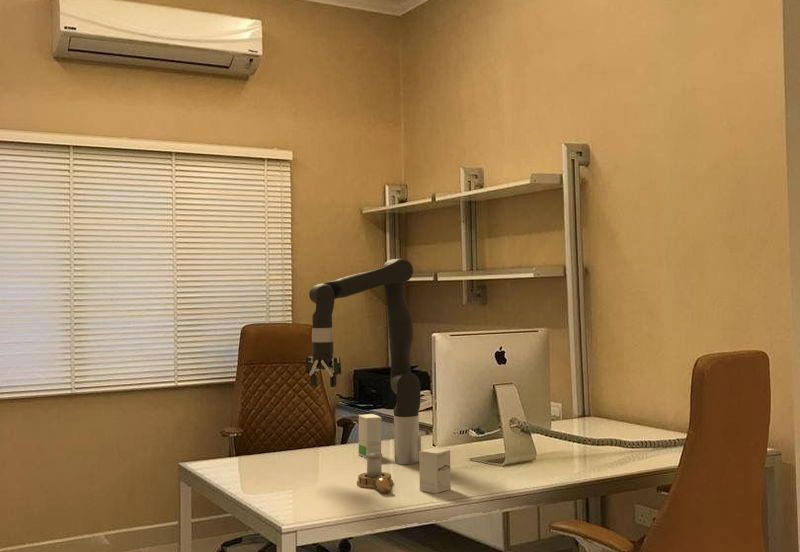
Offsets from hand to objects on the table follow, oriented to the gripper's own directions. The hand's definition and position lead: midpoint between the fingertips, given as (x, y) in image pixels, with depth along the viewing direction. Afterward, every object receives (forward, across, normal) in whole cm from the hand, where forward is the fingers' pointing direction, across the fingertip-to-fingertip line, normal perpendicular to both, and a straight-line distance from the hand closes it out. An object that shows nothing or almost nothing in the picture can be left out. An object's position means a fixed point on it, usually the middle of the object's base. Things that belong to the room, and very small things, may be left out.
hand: (323, 386), depth 297 cm
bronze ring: (+30, -29, +9) cm, 43 cm away
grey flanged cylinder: (+29, -26, +6) cm, 40 cm away
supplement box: (+30, -48, +4) cm, 57 cm away
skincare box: (+30, +3, -31) cm, 43 cm away
